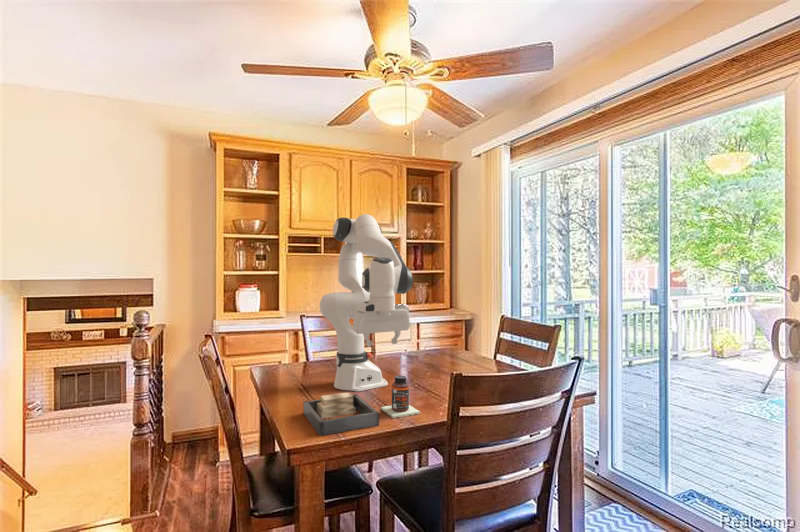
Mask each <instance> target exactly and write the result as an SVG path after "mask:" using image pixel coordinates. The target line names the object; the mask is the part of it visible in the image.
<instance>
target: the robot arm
mask: <svg viewBox="0 0 800 532" xmlns="http://www.w3.org/2000/svg"><path fill="white" fill-rule="evenodd" d="M332 235H333V236H332V237H333V238H334V239H335V240H336V241H339V242H344V244H343V245H342V246H341V247H340V251H339V256H338V257H339V258H338V273H337V275H338V278H337V279H338V282H339V284H340V285H341V286H342V287H343V288H345V289H347V290H349V291H350V292H347V291H346V292H331V293H327V294H326V293H325V294H324V295H323V296H322V297H321V299H320V302H319V311H320V313H321V315H322V316H323V317H324V318H325V319H327V321H329V322H330V323H331V325H332V326H333V328H334V330H335V333H336V340H337V352H336V357H335V358H336V359H335V363H336V373H335V379H334V383H333V387H334V388H335V389H338V390H341V391H352V392H361V391H362V392H363V391H367V390H372V389H378V388H383V387H386V386H388V383H389V382H388V381H387V380H386V379H385V378H384V377H383V375H382V371H381V368H379V367H378V366H377V365H376V364H374V363H373V362H372V361H370V360H369V359H372V358H373V354H372V353H370V352H367V351H366V350H365V341H366V347H367V348H370V347H373V340H370V338H369V337H370V334H375V333H376V334H378V333H390V332H391V333H392V332H394V336H393V337H391V344H392V345H397V344H398V339H399V337H400V335H401V331H408V330H410V328H411V325H410V324H411V321H410V307H409V306H408V305H407V304H406V303H401V304H400V303H396V294H397V295H398V294H401V295H405V294H406V293H408V292H409V291H410V290H411V289H412V287H413V284H414V283H413V282H414V279H413V274H412V272H411V270H410V268H408V266H407V265H406V263H405V262H404V260H403V258H402V257H401V255H400V254H401V253H399V251H398V249H397V248H396V246H395V244H394V242H392V241H391V240H389V239H387V238H386V237H385V236H384V235H383V230H382V227H381V226H379V223H378V222H377V220H376V218H375V217H374V216H373V215H370V214H367V213H366V214H365V213H363V214H361V215H359V216H358V217H357V218H356V219H355V218H348V217H339V218H337V219H336V220H335V222H334V224H333V227H332ZM364 255H366V256H370V257H374V258H372V259H371V260H370V261H371V262H370V266H369V267H367V268H365V269H364V267H365V264H364ZM351 319H352V320H353V324H351V323H350V320H351Z"/></svg>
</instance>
